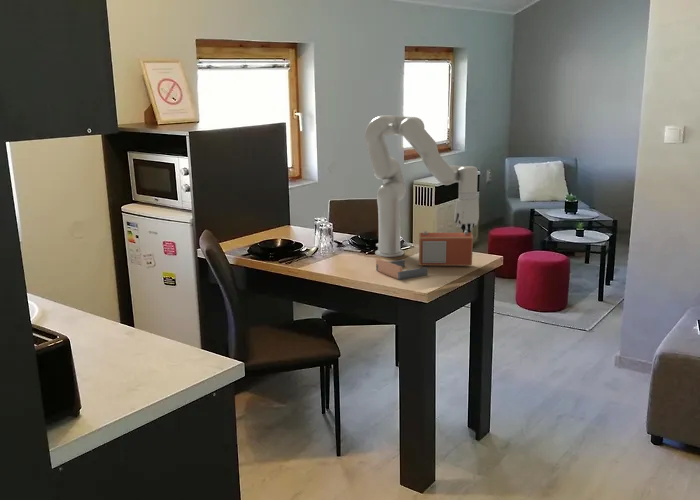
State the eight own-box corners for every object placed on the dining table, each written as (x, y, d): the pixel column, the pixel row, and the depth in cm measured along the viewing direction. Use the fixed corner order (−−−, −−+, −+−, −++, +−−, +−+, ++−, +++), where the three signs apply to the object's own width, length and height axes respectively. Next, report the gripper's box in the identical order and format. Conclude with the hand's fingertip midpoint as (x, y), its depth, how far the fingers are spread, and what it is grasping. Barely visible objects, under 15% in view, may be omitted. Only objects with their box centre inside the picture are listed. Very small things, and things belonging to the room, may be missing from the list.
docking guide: (376, 271, 264) (376, 259, 263) (403, 266, 271) (403, 254, 270) (399, 279, 251) (399, 267, 250) (427, 274, 257) (427, 262, 256)
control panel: (470, 262, 274) (471, 228, 268) (472, 269, 267) (473, 235, 261) (418, 262, 275) (419, 229, 269) (419, 269, 269) (419, 235, 263)
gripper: (475, 193, 278) (474, 236, 282) (447, 196, 271) (446, 240, 275) (487, 195, 272) (486, 239, 276) (459, 198, 265) (458, 243, 269)
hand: (466, 239), depth 275 cm, fingers closed
